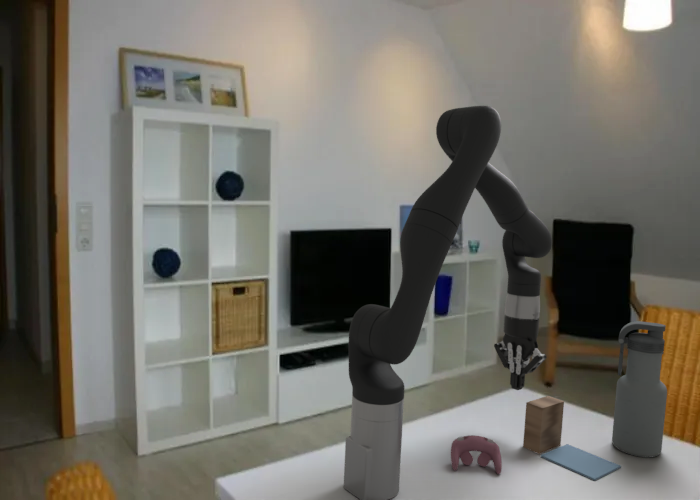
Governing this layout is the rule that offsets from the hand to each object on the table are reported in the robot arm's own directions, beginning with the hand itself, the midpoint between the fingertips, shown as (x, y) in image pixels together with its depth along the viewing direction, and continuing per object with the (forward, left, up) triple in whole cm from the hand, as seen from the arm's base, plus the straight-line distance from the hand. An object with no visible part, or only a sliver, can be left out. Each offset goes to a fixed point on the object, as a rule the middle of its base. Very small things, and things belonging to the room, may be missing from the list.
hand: (516, 388), depth 130 cm
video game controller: (-21, -6, -11) cm, 24 cm away
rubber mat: (0, -17, -11) cm, 20 cm away
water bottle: (+17, -20, -11) cm, 28 cm away
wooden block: (0, -8, -11) cm, 13 cm away
